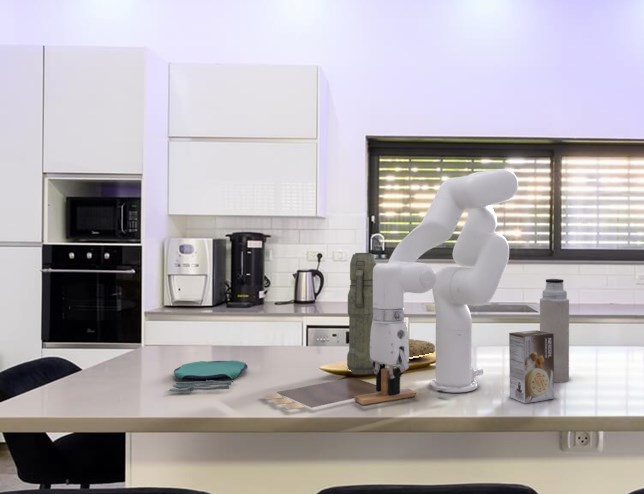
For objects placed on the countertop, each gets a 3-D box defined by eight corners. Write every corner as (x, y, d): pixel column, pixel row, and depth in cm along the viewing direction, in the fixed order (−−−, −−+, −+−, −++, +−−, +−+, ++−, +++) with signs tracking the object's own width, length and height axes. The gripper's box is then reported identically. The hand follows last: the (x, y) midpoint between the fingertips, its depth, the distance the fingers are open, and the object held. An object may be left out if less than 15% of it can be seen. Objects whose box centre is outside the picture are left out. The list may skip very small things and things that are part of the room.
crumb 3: (298, 406, 128) (298, 402, 128) (304, 411, 125) (304, 406, 125) (281, 409, 126) (281, 404, 126) (286, 414, 123) (286, 409, 123)
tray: (352, 380, 153) (352, 377, 153) (391, 393, 140) (391, 389, 140) (276, 395, 137) (276, 391, 137) (311, 411, 125) (311, 407, 125)
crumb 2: (287, 402, 132) (287, 397, 132) (292, 406, 129) (292, 402, 129) (270, 404, 130) (270, 400, 130) (275, 408, 127) (275, 404, 127)
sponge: (371, 367, 175) (433, 355, 172) (367, 342, 176) (428, 330, 174) (380, 365, 187) (437, 355, 185) (376, 342, 189) (433, 331, 187)
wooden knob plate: (354, 405, 130) (354, 371, 130) (407, 396, 137) (407, 364, 137) (362, 410, 126) (362, 374, 126) (416, 400, 134) (416, 367, 134)
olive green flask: (344, 379, 154) (345, 253, 154) (349, 369, 166) (350, 252, 166) (376, 379, 154) (377, 253, 155) (379, 369, 166) (379, 252, 166)
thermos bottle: (545, 373, 162) (545, 277, 162) (572, 377, 157) (572, 278, 157) (535, 379, 155) (535, 279, 155) (563, 383, 151) (564, 280, 151)
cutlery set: (252, 366, 170) (252, 358, 170) (236, 392, 140) (236, 383, 140) (183, 368, 167) (183, 360, 167) (152, 395, 137) (152, 386, 137)
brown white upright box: (537, 392, 141) (537, 329, 141) (554, 399, 135) (555, 333, 136) (508, 397, 137) (508, 332, 137) (524, 404, 131) (525, 336, 131)
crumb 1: (278, 397, 136) (278, 393, 136) (283, 401, 133) (283, 397, 133) (261, 399, 134) (261, 395, 134) (266, 403, 131) (266, 399, 131)
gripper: (423, 317, 128) (423, 397, 128) (379, 311, 141) (379, 383, 141) (398, 320, 123) (397, 403, 123) (355, 313, 136) (354, 388, 136)
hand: (387, 391), depth 132 cm, fingers open, 3 cm apart
